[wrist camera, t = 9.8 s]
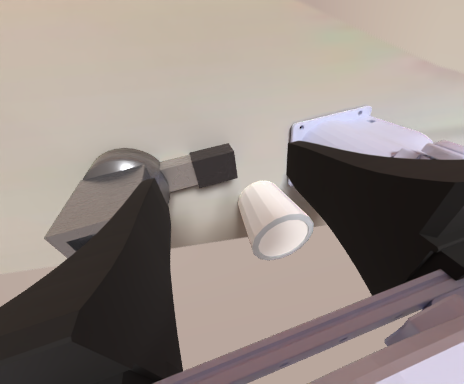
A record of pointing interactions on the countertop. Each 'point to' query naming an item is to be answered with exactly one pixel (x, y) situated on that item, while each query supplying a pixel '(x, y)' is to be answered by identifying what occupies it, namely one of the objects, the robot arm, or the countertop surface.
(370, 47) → the countertop surface
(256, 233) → the shot glass
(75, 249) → the socket
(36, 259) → the countertop surface
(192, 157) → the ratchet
